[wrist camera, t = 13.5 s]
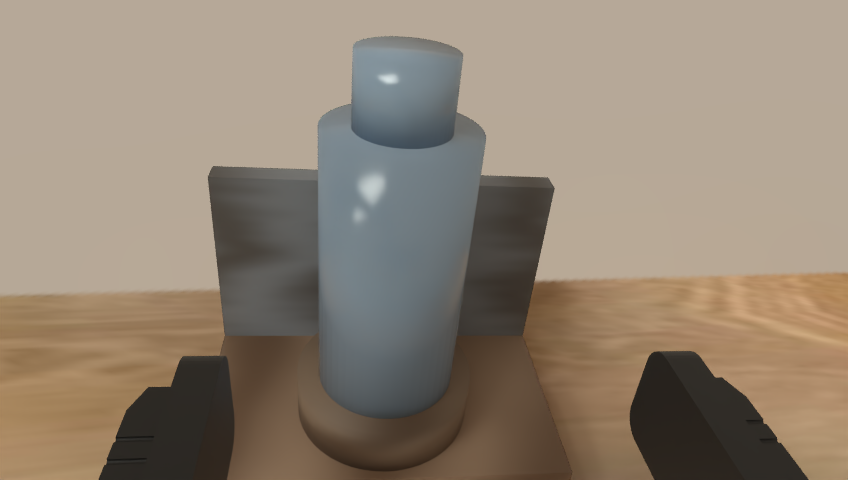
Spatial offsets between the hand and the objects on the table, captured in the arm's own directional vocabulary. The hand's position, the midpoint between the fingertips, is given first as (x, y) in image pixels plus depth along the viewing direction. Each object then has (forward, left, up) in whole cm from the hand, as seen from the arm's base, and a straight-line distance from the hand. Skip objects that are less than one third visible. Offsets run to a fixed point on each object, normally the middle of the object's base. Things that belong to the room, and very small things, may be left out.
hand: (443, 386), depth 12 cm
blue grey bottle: (0, +10, -9) cm, 13 cm away
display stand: (0, +11, -12) cm, 16 cm away
